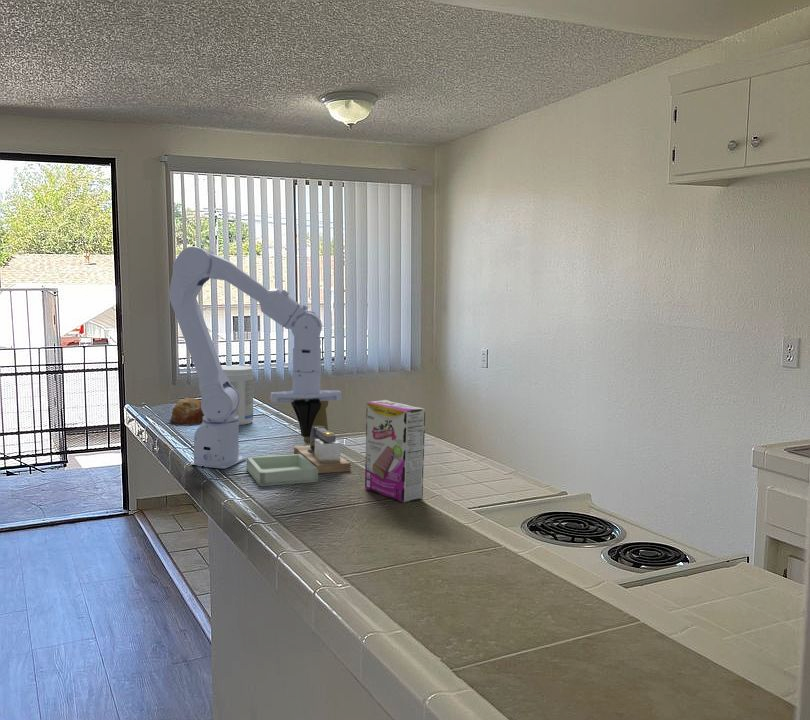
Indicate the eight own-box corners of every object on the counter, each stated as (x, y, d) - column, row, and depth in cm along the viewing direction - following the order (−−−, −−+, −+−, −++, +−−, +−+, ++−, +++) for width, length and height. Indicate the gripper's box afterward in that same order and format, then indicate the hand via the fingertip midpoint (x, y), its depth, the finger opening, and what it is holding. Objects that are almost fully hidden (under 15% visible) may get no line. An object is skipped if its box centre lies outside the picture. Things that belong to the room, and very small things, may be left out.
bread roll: (175, 431, 204) (162, 405, 202) (210, 413, 208) (197, 388, 206) (180, 438, 195) (167, 411, 193) (217, 420, 199) (204, 393, 197)
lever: (308, 447, 162) (308, 425, 162) (321, 446, 164) (322, 424, 163) (323, 459, 152) (324, 435, 151) (338, 458, 153) (338, 434, 153)
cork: (324, 443, 177) (325, 397, 176) (300, 441, 178) (301, 395, 177) (332, 438, 183) (333, 393, 182) (308, 436, 184) (309, 392, 183)
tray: (246, 469, 151) (246, 457, 151) (300, 465, 155) (300, 453, 155) (260, 486, 139) (260, 473, 139) (318, 481, 143) (318, 468, 143)
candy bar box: (362, 489, 139) (365, 401, 137) (383, 485, 142) (386, 399, 141) (402, 504, 131) (405, 410, 129) (424, 499, 134) (427, 407, 132)
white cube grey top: (314, 457, 156) (314, 439, 156) (333, 455, 158) (333, 438, 158) (321, 462, 152) (321, 444, 151) (340, 461, 153) (340, 442, 153)
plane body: (293, 453, 166) (293, 445, 166) (324, 451, 169) (324, 443, 169) (316, 473, 150) (316, 463, 149) (350, 470, 152) (350, 461, 152)
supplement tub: (242, 418, 206) (243, 364, 205) (259, 424, 199) (260, 368, 197) (209, 421, 200) (209, 366, 199) (225, 427, 193) (226, 370, 191)
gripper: (276, 373, 149) (275, 441, 150) (346, 372, 155) (345, 437, 156) (268, 369, 155) (267, 434, 157) (335, 368, 161) (334, 431, 162)
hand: (305, 435), depth 157 cm, fingers closed
